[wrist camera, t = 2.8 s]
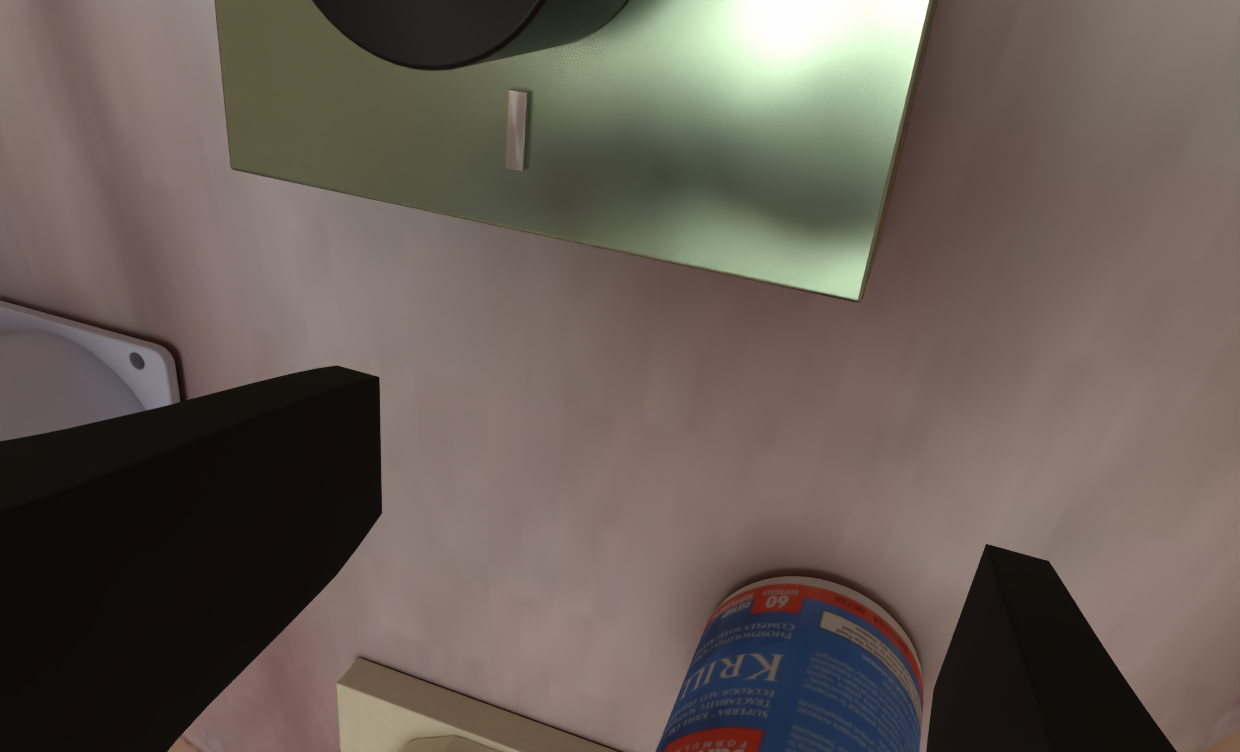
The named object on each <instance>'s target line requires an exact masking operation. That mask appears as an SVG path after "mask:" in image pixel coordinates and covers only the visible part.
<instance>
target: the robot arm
mask: <svg viewBox="0 0 1240 752" xmlns="http://www.w3.org/2000/svg"><path fill="white" fill-rule="evenodd" d="M142 358H143V359H142ZM381 514H382V491H381V438H380V385H379V377H377V376H373V375H370V374H366V373H362V372H359V371H355V370H351V369H348V368H344V367H340V366H331V367H324V368H317V369H312V370H307V371H302V372H298V373H293V374H289V375H284V376H280V377H276V378H272V379H268V380H264V381H260V382H256V383H252V384H248V385H244V386H240V387H236V388H233V389H229V390H225V391H221V392H217V393H213V394H209V395H205V396H202V397H198V398H194V399H190V400H186V401H182V402H180V395H179V388H178V381H177V374H176V367H175V362H174V358H173V356H172V355H171V353H170V352H169V351H168V350H167V349H166V348H164V347H163V346H160V345H158V344H155V343H151V342H148V341H144V340H140V339H137V338H133V337H130V336H126V335H123V334H119V333H115V332H112V331H108V330H105V329H101V328H97V327H94V326H90V325H87V324H83V323H80V322H76V321H72V320H69V319H65V318H62V317H58V316H54V315H51V314H47V313H44V312H40V311H37V310H33V309H29V308H26V307H22V306H19V305H15V304H11V303H8V302H4V301H1V300H0V752H167V751H168V750H169V749H170V747H171V746H172V745H173V744H174V742H175V741H176V740H177V739H178V738H179V737H180V736H181V735H182V734H183V732H184V731H185V730H186V729H187V728H188V727H189V726H190V725H191V724H192V723H193V722H194V720H195V719H196V718H197V717H198V716H199V715H200V714H201V713H202V712H203V711H204V710H205V708H206V707H207V706H208V705H209V704H210V703H211V702H212V701H213V700H214V699H215V698H216V697H217V696H218V695H219V694H220V693H221V692H222V691H223V690H224V689H225V688H226V687H227V686H228V685H229V684H230V683H231V682H232V681H233V680H234V679H235V678H236V677H237V676H238V675H239V674H240V673H241V672H242V671H243V670H244V669H245V668H246V667H247V666H248V665H249V664H250V663H251V662H252V661H253V660H254V659H255V658H256V657H257V656H258V655H259V654H260V653H261V652H262V651H263V650H264V649H265V648H266V647H267V646H268V645H269V644H270V643H271V642H272V641H273V640H274V639H275V638H276V637H277V636H278V635H279V634H280V633H281V632H282V631H283V630H284V629H285V628H286V627H287V626H288V625H289V624H290V623H291V622H292V621H293V620H294V619H295V618H296V617H297V616H298V615H299V613H300V612H301V611H302V610H303V609H304V608H305V607H306V606H307V605H308V604H309V603H310V602H311V601H312V600H313V599H314V598H315V597H316V596H317V595H318V594H319V593H320V592H321V591H322V590H323V589H324V588H325V587H326V586H327V584H328V583H329V582H330V581H331V580H332V579H333V578H334V577H335V576H336V575H337V574H338V572H339V571H340V570H341V568H342V567H343V566H344V565H345V563H346V562H347V561H348V559H349V558H350V557H351V555H352V554H353V553H354V552H355V550H356V549H357V548H358V546H359V545H360V543H361V542H362V541H363V539H364V538H365V536H366V535H367V534H368V532H369V531H370V529H371V528H372V527H373V525H374V524H375V522H376V521H377V519H378V518H379V517H380V515H381ZM926 752H1177V751H1176V750H1175V749H1174V747H1173V746H1172V745H1171V743H1170V742H1169V740H1168V739H1167V738H1166V736H1165V735H1164V734H1163V732H1162V731H1161V730H1160V728H1159V727H1158V725H1157V724H1156V723H1155V721H1154V720H1153V719H1152V717H1151V716H1150V714H1149V713H1148V711H1147V710H1146V709H1145V707H1144V706H1143V704H1142V703H1141V702H1140V700H1139V699H1138V697H1137V696H1136V694H1135V693H1134V691H1133V690H1132V688H1131V687H1130V686H1129V684H1128V683H1127V681H1126V680H1125V678H1124V677H1123V675H1122V674H1121V672H1120V671H1119V669H1118V668H1117V666H1116V665H1115V663H1114V662H1113V660H1112V659H1111V657H1110V656H1109V654H1108V653H1107V651H1106V650H1105V648H1104V647H1103V645H1102V644H1101V642H1100V640H1099V639H1098V637H1097V636H1096V634H1095V633H1094V631H1093V630H1092V628H1091V627H1090V625H1089V623H1088V622H1087V620H1086V619H1085V617H1084V616H1083V614H1082V612H1081V611H1080V609H1079V608H1078V606H1077V604H1076V603H1075V601H1074V600H1073V598H1072V597H1071V595H1070V593H1069V592H1068V590H1067V589H1066V587H1065V585H1064V584H1063V582H1062V581H1061V579H1060V578H1059V576H1058V574H1057V573H1056V571H1055V570H1054V568H1053V567H1052V565H1051V564H1050V562H1049V561H1046V560H1043V559H1039V558H1035V557H1032V556H1028V555H1024V554H1021V553H1017V552H1013V551H1010V550H1006V549H1003V548H999V547H995V546H992V545H988V544H986V546H985V549H984V551H983V554H982V557H981V560H980V562H979V565H978V568H977V571H976V574H975V576H974V579H973V582H972V585H971V587H970V590H969V593H968V596H967V598H966V601H965V604H964V607H963V609H962V612H961V615H960V618H959V620H958V623H957V626H956V629H955V632H954V634H953V637H952V640H951V643H950V645H949V648H948V651H947V654H946V656H945V659H944V662H943V665H942V667H941V670H940V673H939V676H938V679H937V681H936V684H935V687H934V691H933V700H932V708H931V716H930V724H929V733H928V741H927V751H926Z"/></svg>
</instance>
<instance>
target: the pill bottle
mask: <svg viewBox="0 0 1240 752" xmlns="http://www.w3.org/2000/svg"><path fill="white" fill-rule="evenodd" d="M922 711H923V677H922V671H921V666H920V662H919V659H918V656H917V654H916V651H915V649H914V647H913V645H912V643H911V641H910V639H909V638H908V636H907V635H906V633H905V632H904V631H903V629H902V628H901V627H900V625H899V624H898V623H897V622H896V621H895V620H894V619H893V618H892V617H891V616H890V615H889V614H888V613H887V612H886V611H885V610H884V609H882V608H881V607H880V606H879V605H877V604H876V603H875V602H873V601H872V600H870V599H869V598H867V597H865V596H864V595H862V594H860V593H858V592H856V591H854V590H852V589H850V588H848V587H845V586H842V585H839V584H837V583H834V582H830V581H827V580H822V579H817V578H811V577H801V576H784V577H775V578H770V579H766V580H761V581H758V582H755V583H752V584H750V585H747V586H745V587H743V588H741V589H739V590H738V591H736V592H735V593H733V594H732V595H730V596H729V597H728V598H726V599H725V600H724V601H723V602H722V603H721V604H720V606H719V607H718V608H717V609H716V610H715V612H714V613H713V615H712V616H711V618H710V620H709V622H708V624H707V626H706V627H705V629H704V632H703V634H702V637H701V639H700V642H699V644H698V647H697V649H696V652H695V654H694V657H693V659H692V662H691V664H690V667H689V669H688V672H687V674H686V677H685V679H684V682H683V684H682V687H681V690H680V692H679V695H678V697H677V700H676V702H675V705H674V707H673V710H672V712H671V715H670V717H669V720H668V722H667V725H666V727H665V730H664V732H663V735H662V737H661V740H660V742H659V745H658V747H657V750H656V752H919V747H920V736H921V724H922Z"/></svg>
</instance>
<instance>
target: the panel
mask: <svg viewBox="0 0 1240 752" xmlns="http://www.w3.org/2000/svg"><path fill="white" fill-rule="evenodd" d="M937 1H938V0H626V1H625V3H624V4H623V5H622V7H621V8H620V9H619V10H618V11H617V12H616V13H615V14H614V15H613V16H612V17H611V18H610V19H609V20H608V21H607V22H606V23H604V24H603V25H602V26H601V27H599V28H598V29H597V30H595V31H594V32H592V33H590V34H589V35H587V36H585V37H583V38H582V39H579V40H577V41H574V42H572V43H569V44H567V45H562V46H558V47H554V48H549V49H545V50H540V51H535V52H531V53H526V54H522V55H517V56H513V57H508V58H504V59H499V60H494V61H490V62H485V63H481V64H476V65H472V66H467V67H463V68H458V69H453V70H443V71H425V70H414V69H410V68H406V67H402V66H398V65H395V64H392V63H390V62H387V61H385V60H382V59H380V58H378V57H376V56H374V55H373V54H371V53H369V52H367V51H365V50H364V49H362V48H360V47H359V46H358V45H356V44H355V43H354V42H352V41H351V40H350V39H348V38H347V37H346V36H344V35H343V34H342V33H341V32H340V31H339V30H338V29H337V28H336V27H335V26H334V25H332V24H331V23H330V22H329V21H328V20H327V18H326V17H325V16H324V15H323V14H322V12H321V11H320V10H319V9H318V8H317V7H316V5H315V4H314V3H313V1H312V0H215V10H216V21H217V31H218V41H219V52H220V62H221V72H222V82H223V93H224V103H225V113H226V123H227V134H228V144H229V154H230V165H231V168H232V169H233V170H236V171H241V172H246V173H251V174H255V175H260V176H265V177H269V178H274V179H279V180H283V181H288V182H293V183H298V184H302V185H307V186H312V187H316V188H321V189H326V190H331V191H335V192H340V193H345V194H349V195H354V196H359V197H363V198H368V199H373V200H378V201H382V202H387V203H392V204H396V205H401V206H406V207H410V208H415V209H420V210H425V211H429V212H434V213H439V214H443V215H448V216H453V217H457V218H462V219H467V220H472V221H476V222H481V223H486V224H490V225H495V226H500V227H504V228H509V229H514V230H519V231H523V232H528V233H533V234H537V235H542V236H547V237H552V238H556V239H561V240H566V241H570V242H575V243H580V244H584V245H589V246H594V247H599V248H603V249H608V250H613V251H617V252H622V253H627V254H631V255H636V256H641V257H646V258H650V259H655V260H660V261H664V262H669V263H674V264H678V265H683V266H688V267H693V268H697V269H702V270H707V271H711V272H716V273H721V274H726V275H730V276H735V277H740V278H744V279H749V280H754V281H758V282H763V283H768V284H773V285H777V286H782V287H787V288H791V289H796V290H801V291H805V292H810V293H815V294H820V295H824V296H829V297H834V298H838V299H843V300H848V301H852V302H861V301H862V299H863V296H864V293H865V290H866V286H867V283H868V280H869V277H870V273H871V270H872V267H873V263H874V260H875V257H876V254H877V250H878V246H879V241H880V237H881V233H882V229H883V225H884V221H885V217H886V212H887V208H888V204H889V200H890V196H891V192H892V188H893V183H894V179H895V175H896V171H897V167H898V163H899V159H900V154H901V150H902V146H903V142H904V138H905V134H906V130H907V125H908V121H909V117H910V113H911V109H912V105H913V101H914V96H915V92H916V88H917V84H918V80H919V76H920V72H921V67H922V63H923V59H924V55H925V51H926V47H927V43H928V38H929V34H930V30H931V26H932V22H933V18H934V13H935V9H936V5H937Z"/></svg>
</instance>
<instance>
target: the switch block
mask: <svg viewBox="0 0 1240 752" xmlns="http://www.w3.org/2000/svg"><path fill="white" fill-rule="evenodd" d="M337 698H338V715H339V732H340V749H341V752H618V751H615V750H612V749H609V748H606V747H604V746H601V745H598V744H595V743H593V742H590V741H587V740H584V739H582V738H579V737H576V736H573V735H571V734H568V733H565V732H562V731H560V730H557V729H554V728H551V727H549V726H546V725H543V724H540V723H538V722H535V721H532V720H529V719H527V718H524V717H521V716H518V715H516V714H513V713H510V712H507V711H505V710H502V709H499V708H496V707H494V706H491V705H488V704H485V703H482V702H480V701H477V700H474V699H471V698H469V697H466V696H463V695H460V694H458V693H455V692H452V691H449V690H447V689H444V688H441V687H438V686H436V685H433V684H430V683H427V682H425V681H422V680H419V679H416V678H414V677H411V676H408V675H405V674H403V673H400V672H397V671H394V670H392V669H389V668H386V667H383V666H381V665H378V664H375V663H372V662H370V661H367V660H364V659H361V658H358V659H357V660H356V662H355V663H354V664H353V665H352V666H351V667H350V669H349V670H348V671H347V672H346V673H345V674H344V675H343V677H342V678H341V679H340V680H339V681H338V682H337Z"/></svg>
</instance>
